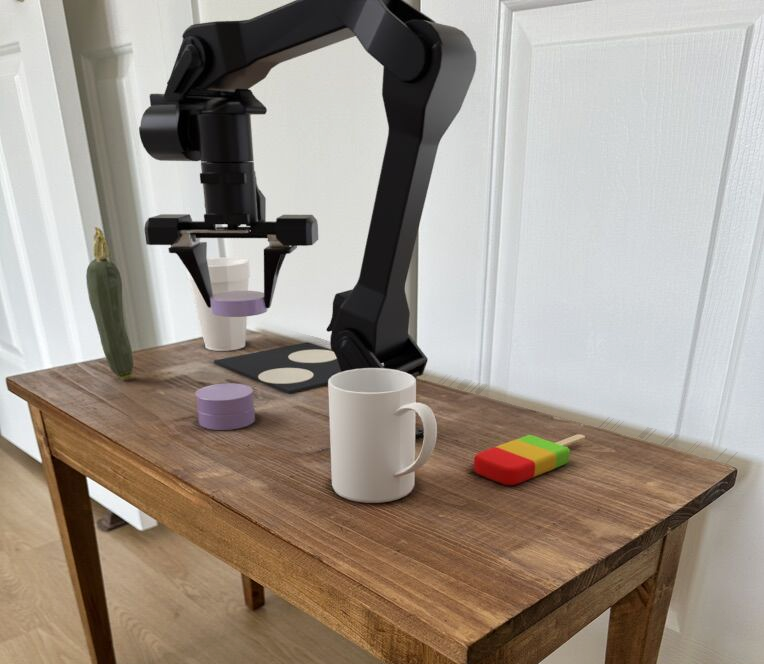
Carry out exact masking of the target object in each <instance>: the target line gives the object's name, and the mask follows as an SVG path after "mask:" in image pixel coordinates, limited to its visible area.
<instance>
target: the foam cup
mask: <svg viewBox="0 0 764 664" xmlns="http://www.w3.org/2000/svg"><path fill="white" fill-rule="evenodd" d="M207 264H208V270H209V275H210V281H211V286H212V292H213V294H216V293H220V292H227V291H249V279H250V277H251V271H250V260H248V259H246V258H240V257H239V258H238V257H207ZM185 268H186V267H185ZM186 277H187V280H188V281H189V286H190V289H191V293H192V298H193V302H194V306H195V311H196V314H197V318H198V322H199V327H200V330H201V335H202V339H203V343H204V344H205V346H204V347H205V348H206V350H210V351H218V352H226V351H228V352H229V351H235V350H240V349H242V348H245V346H246V340H247V323H248V322H247V320H248V316H245V317H225V316H218V315H214V314H212V313H211V308H208V306H207V305H206V303H205V301H204V299H203V297H202V295H201V293H200V291H199V289H198V287H197V285H196V283H195V282H194V280H193V278H192V276H191V274H190V273H189V271H188V270H187V268H186Z"/></svg>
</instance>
